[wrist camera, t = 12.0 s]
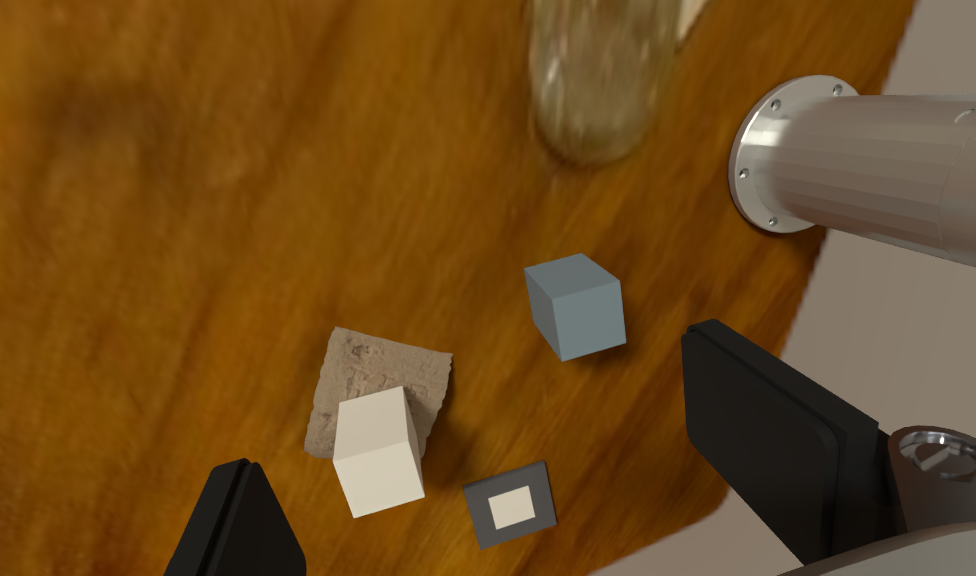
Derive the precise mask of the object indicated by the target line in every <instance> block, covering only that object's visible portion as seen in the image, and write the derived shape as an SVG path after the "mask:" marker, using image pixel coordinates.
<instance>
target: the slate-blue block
mask: <svg viewBox="0 0 976 576" xmlns="http://www.w3.org/2000/svg"><path fill="white" fill-rule="evenodd" d="M524 272H525V277H526V283H527V288H528V294H529V299H530V305H531V310H532V316H533V321H534V324H535V325H536V326H537V328H538V329H539V331H540V332H541V333H542V335H543V336H544V337H545V339H546V340H547V342H548V343H549V344H550V346H551V347H552V349H553V350H554V351H555V353H556V354H557V355H558V357H559V358H560V360H561V361H562V362H563V361H566V360H569V359H573V358H576V357H580V356H583V355H587V354H590V353H593V352H597V351H600V350H604V349H607V348H610V347H614V346H617V345H621V344H624V343H626V336H625V326H624V316H623V307H622V297H621V287H620V280H618V279H617V278H615V277H614V276H613V275H611V274H610V273H608V272H607V271H606V270H604V269H603V268H602V267H600V266H599V265H597V264H596V263H595V262H593V261H592V260H590V259H589V258H588V257H586V256H585V255H584V254H582V253H580V254H576V255H573V256H569V257H565V258H561V259H558V260H554V261H550V262H546V263H543V264H539V265H535V266H531V267H527V268H524Z"/></svg>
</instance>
